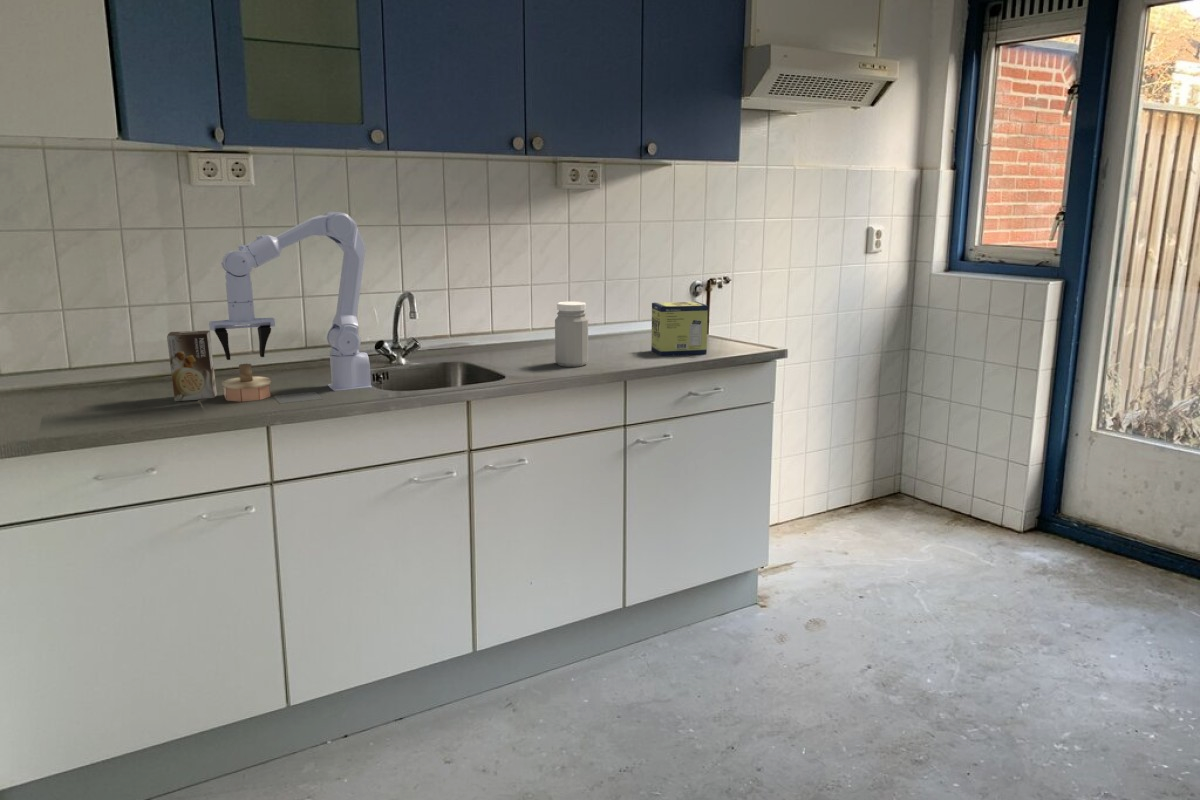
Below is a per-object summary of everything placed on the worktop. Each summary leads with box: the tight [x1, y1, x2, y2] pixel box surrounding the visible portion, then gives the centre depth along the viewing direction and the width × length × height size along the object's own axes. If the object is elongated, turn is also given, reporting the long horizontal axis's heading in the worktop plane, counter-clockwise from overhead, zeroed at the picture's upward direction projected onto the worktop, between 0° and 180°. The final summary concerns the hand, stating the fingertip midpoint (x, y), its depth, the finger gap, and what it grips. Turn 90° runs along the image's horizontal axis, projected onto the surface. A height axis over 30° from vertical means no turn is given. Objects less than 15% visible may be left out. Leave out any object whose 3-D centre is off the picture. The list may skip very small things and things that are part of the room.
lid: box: [221, 363, 272, 389], centre depth 216 cm, size 11×11×5 cm
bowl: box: [223, 383, 271, 403], centre depth 217 cm, size 10×10×4 cm
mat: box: [272, 391, 324, 405], centre depth 217 cm, size 10×9×1 cm
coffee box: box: [166, 330, 218, 402], centre depth 216 cm, size 9×6×16 cm
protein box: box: [650, 300, 709, 357], centre depth 281 cm, size 10×16×16 cm
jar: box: [554, 300, 589, 368], centre depth 260 cm, size 10×10×18 cm
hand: (245, 357), depth 216 cm, fingers open, 7 cm apart
